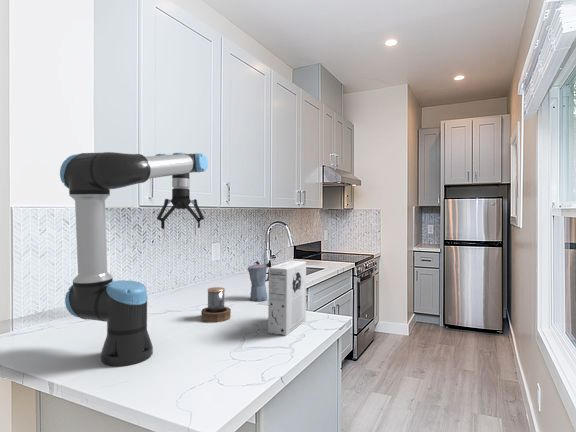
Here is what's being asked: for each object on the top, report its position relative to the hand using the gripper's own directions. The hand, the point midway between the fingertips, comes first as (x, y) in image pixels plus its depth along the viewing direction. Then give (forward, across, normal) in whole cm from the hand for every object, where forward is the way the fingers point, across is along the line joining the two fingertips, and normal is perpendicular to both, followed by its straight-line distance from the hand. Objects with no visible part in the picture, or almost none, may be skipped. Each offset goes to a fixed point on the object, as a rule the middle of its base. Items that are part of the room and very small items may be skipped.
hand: (180, 235), depth 166 cm
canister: (+34, -12, +14) cm, 39 cm away
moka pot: (+35, -41, -9) cm, 55 cm away
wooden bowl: (+35, -12, +14) cm, 39 cm away
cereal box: (+35, -35, +37) cm, 62 cm away
